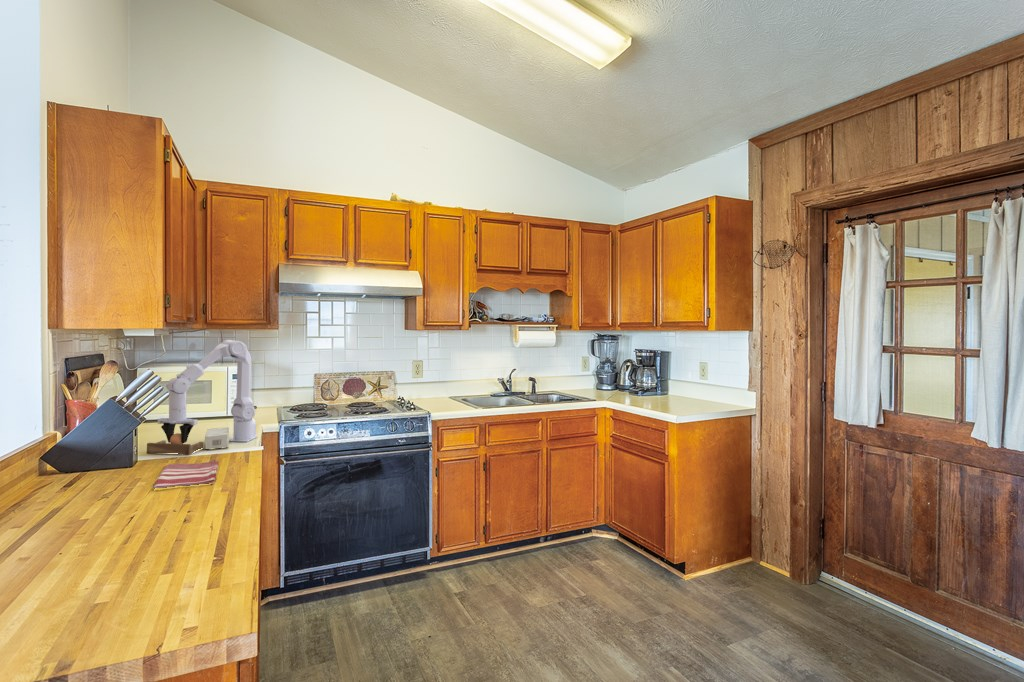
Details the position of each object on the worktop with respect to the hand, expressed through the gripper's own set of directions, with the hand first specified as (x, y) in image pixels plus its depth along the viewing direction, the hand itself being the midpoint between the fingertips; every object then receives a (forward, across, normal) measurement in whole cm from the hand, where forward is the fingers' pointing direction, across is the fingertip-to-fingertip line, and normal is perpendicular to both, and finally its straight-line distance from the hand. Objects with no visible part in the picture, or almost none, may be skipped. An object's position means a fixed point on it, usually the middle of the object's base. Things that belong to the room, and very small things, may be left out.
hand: (177, 442), depth 199 cm
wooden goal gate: (+3, 0, -2) cm, 4 cm away
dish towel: (+4, +24, -30) cm, 39 cm away
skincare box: (0, +14, +4) cm, 14 cm away
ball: (-1, 0, 0) cm, 1 cm away
